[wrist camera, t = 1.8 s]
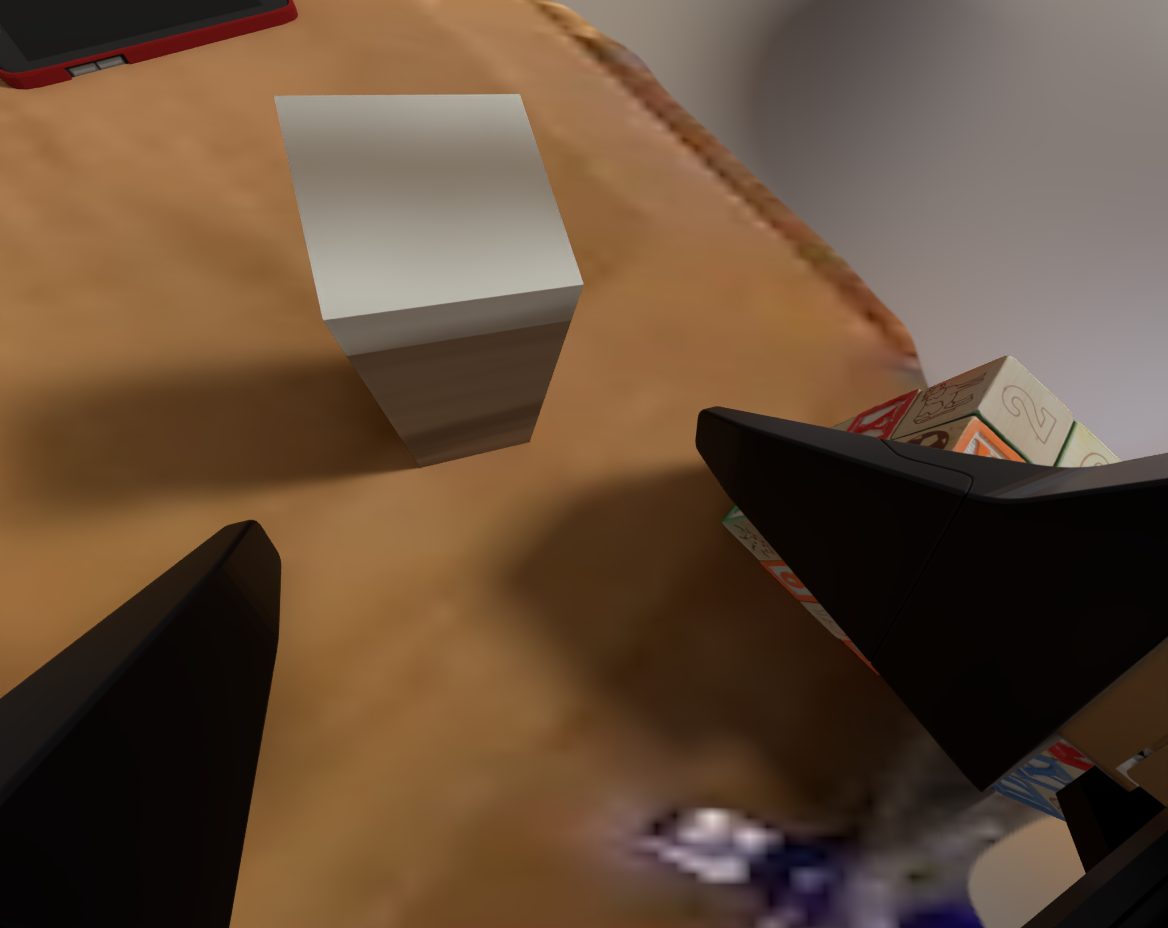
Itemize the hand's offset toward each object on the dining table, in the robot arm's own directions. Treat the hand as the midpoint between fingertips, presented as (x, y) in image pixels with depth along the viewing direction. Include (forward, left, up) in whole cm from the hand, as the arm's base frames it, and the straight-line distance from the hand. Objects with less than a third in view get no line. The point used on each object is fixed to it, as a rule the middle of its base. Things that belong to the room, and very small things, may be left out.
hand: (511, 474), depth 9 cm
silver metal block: (+4, +5, -13) cm, 14 cm away
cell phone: (+12, +33, -13) cm, 37 cm away
